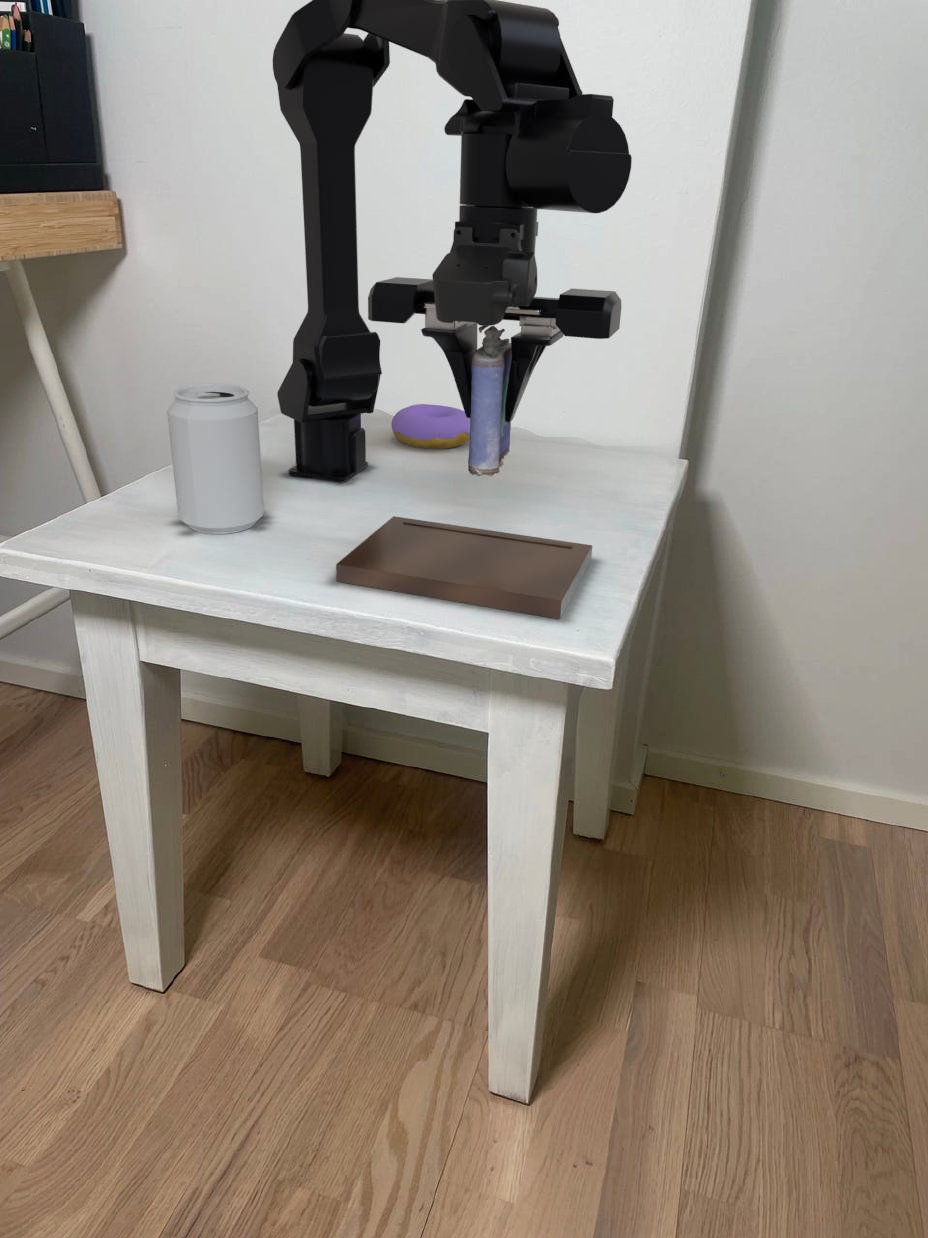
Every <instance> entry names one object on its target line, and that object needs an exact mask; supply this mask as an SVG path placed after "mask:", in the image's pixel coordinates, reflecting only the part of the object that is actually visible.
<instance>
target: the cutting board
mask: <svg viewBox="0 0 928 1238" xmlns="http://www.w3.org/2000/svg"><path fill="white" fill-rule="evenodd" d="M592 554H593V545H592V544H587V543H579V542H573V541H567V540H566V541H565V540H559V539H551V538H545V537H539V536H531V535H526V534H517V533H511V532H503V531H499V530H498V531H497V530H490V529H485V528H484V529H483V528H477V527H470V526H463V525H458V524H457V525H456V524H450V523H442V522H437V521H436V522H435V521H428V520H423V519H422V520H421V519H415V518H409V517H401V516H395V515H394V516H392V517H391V518H390V519H389V520H387V521H386V522H384V523H383V524H382V525H381V526H380V527H379V528H378V529H377V530H375V531H374V532H373V533H371V534H370V535H369V536H368V537H367V538H366V539H365V540H363V541H362V542H360V544H359V545H357V546H356V547H355V548H353V550H351V551H350V552H349V553H348V554H347V555H345V556H344V557H342V559H341V560H339V561H338V562H337V563H336V564H335V573H336V575H335V576H336V582H338V583H343V584H349V585H350V584H352V585H356V586H361V587H367V588H368V587H369V588H374V589H379V590H385V591H390V592H391V591H392V592H398V593H402V594H410V595H415V596H421V597H426V598H433V599H439V600H445V601H451V602H456V603H457V602H458V603H461V604H462V603H463V604H469V605H474V606H480V607H487V608H491V609H498V610H503V611H509V612H514V613H515V612H516V613H522V614H526V615H534V616H538V617H544V618H550V619H556V620H560V619H561V618H562V616H563V614H564V612H565V610H566V608H567V607H568V605H569V603H570V601H571V599H572V597H573V595H574V593H575V592H576V590H577V588H578V586H579V584H580V582H581V580H582V578H583V577H584V575H585V573H586V571H587V569H588V567H589V565H590V563H591V562H592Z"/></svg>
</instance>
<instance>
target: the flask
mask: <svg viewBox="0 0 928 1238" xmlns="http://www.w3.org/2000/svg"><path fill="white" fill-rule="evenodd" d="M486 328H487V329H486ZM478 332H479V334H481V333H482V332H483V334H484V337H483V339H482V342H481V344H482V346H481V347H478V348H477V350H476V351H475V353H474V355H473V359H472V382H471V385H472V390H471V418H470V440H469V441H468V442H469V443H468V458H467V459H468V460H467V466H468V469H467V470H468V472H469V474H470V475H472V476H475V477H482V476H487V477H489V478H491V477H493V476H494V475H495V474H496V475H497V474H499V473H500V472H501V470H500V468H501V467H503V465H504V461H503V460H506V458H505V457H506V456H508V454H509V453H510V452H511V451H510V445H511V430H512V429H511V428H512V421H511V422H506V421H505V402H506V395H507V388H508V381H509V373H510V366H511V359H512V349H511V342H510V338H504V339H503V338H502V339H501V337H502V335H503V333H504V332H506V329H505V328H501V329H498V328H497V327H496V326H495V325H492V326H481V325H480V326H479V327H478Z"/></svg>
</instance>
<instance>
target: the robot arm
mask: <svg viewBox="0 0 928 1238" xmlns="http://www.w3.org/2000/svg"><path fill="white" fill-rule="evenodd" d="M559 26H560V21H559V18H558V17H557V15H556V14H555V13H554V12H553V11H551V10H550V9H549V8H545V7H541V6H533V5H528V4H522V3H517V2H516V3H515V2H510V1H504V0H310V1H309V2H308V3H306V4H305V5H303V6H301V7H300V8H299V9H298V10H296V11H294V12H293V13H292V15H291V16H290V18H289V19H288V21H287V23H286V25H285V27H284V29H283V31H282V33H281V34H280V37H279V38H278V40H277V42H276V43H275V46H274V48H273V53H272V72H273V77H274V80H275V82H276V86H277V87H276V88H277V94H278V102H279V109H280V112H281V114H282V115H283V117H284V119H285V121H286V123H287V124H288V126H289V128H290V129H291V131H292V133H293V135H294V137H295V138H296V140H297V142H298V144H299V149H300V150H299V151H300V168H301V189H302V191H301V193H302V211H303V212H302V213H303V232H304V251H305V271H306V273H305V274H306V275H305V276H306V293H307V294H306V295H307V312H306V314H305V316H304V318H303V320H302V322H301V324H300V326H299V328H298V330H297V332H296V333H295V335H294V338H293V341H292V363H291V364H290V366H289V368H288V370H287V372H286V374H285V377H284V378H283V380H282V383H281V385H280V386H279V388H278V390H277V394H276V396H277V401H278V405H279V410H280V413H281V414H282V415H283V416H286V417H287V418H290V419H293V429H294V430H293V431H294V433H293V434H294V449H295V465H294V466H292V467H290V468H289V469H288V475H290V476H297V477H303V478H312V479H319V480H324V481H325V480H326V481H334V482H341V483H343V482H347V481H348V480H349V479H351V478H353V477H355V476H356V475H357V474H360V472H362V471H363V470H365V469H366V468H367V467H369V462H368V461H367V458H366V457H367V455H366V453H367V452H366V451H367V448H366V445H367V444H366V429H365V428H364V427H362V415H363V414H373V413H374V412H375V411H374V410H375V405H376V401H377V395H378V391H379V387H380V382H381V381H380V380H381V375H382V374H383V372H382V367H381V359H380V356H381V354H380V353H381V339H380V337H379V334H378V333H377V331H371V330H370V328H369V326H368V325H367V324H366V322H365V320H364V319H363V317H362V315H361V314H360V313H361V312H360V304H359V303H360V302H359V301H360V299H359V297H360V296H359V262H358V260H359V259H358V221H357V186H356V185H357V183H356V182H357V181H356V144H357V142H358V141H359V138H360V137H361V135H362V132H363V131H364V129H365V127H366V124H367V123H368V121H369V119H370V117H371V115H372V111H373V95H374V87H375V86H376V84H377V83H378V82H379V80H380V79H381V78H382V77H383V75H384V73H385V72H386V71H387V70H388V69H389V67H390V63H391V57H390V56H391V55H390V53H391V52H390V43H391V44H394V45H396V46H399V47H401V48H403V49H406V50H409V51H411V52H413V53H416V54H417V55H420V56H423V57H426V58H428V59H429V60H431V61H432V62H433V63H434V64H435V71H436V73H437V75H438V76H439V77H440V78H441V79H442V80H444V82H446V83H447V84H448V85H450V87H452V88H453V89H454V90H455V91H456V92H458V93H459V94H460V95H462V96H464V97H470V98H471V99H470V98H464V99H463V102H462V104H461V105H460V108H459V109H458V110H457V111H456V113H454V114H453V115H451V117H449V119H448V120H447V122H446V124H445V125H444V129H443V130H444V134H445V135H447V136H451V137H460V169H459V170H460V172H459V173H460V175H459V211H458V212H459V213H458V214H459V216H458V221H455V222H454V230H453V237H452V238H453V241H452V245H451V248H450V251H449V252H448V253H447V254H445V256H444V257H443V259H442V260H441V261H440V263H439V264H438V266H437V267H436V268H435V270H434V271H433V273H432V275H431V277H432V278H431V279H430V278H429V279H428V278H418V277H417V278H416V277H401V276H396V277H391V278H387V279H383V280H379V281H376V282H375V283H374V285H372V287H371V288H370V290H369V293H368V295H367V320H369V321H371V322H378V323H379V322H380V323H393V324H406V323H407V322H408V321H409V320H410V319H411V318H412V317H413V316H414V315H416V314H417V315H424V327H423V328H421V329H420V331H421V334H422V336H423V337H425V338H432V339H433V340H434V341H435V342H436V344H437V345H438V346H439V347H440V349H441V350H442V352H443V354H444V356H445V358H446V360H447V362H448V365H449V367H450V371H451V373H452V376H453V380H454V382H455V387H456V389H457V392H458V395H459V398H460V401H461V405H462V408H463V411H464V412H465V415H466V417H467V418H471V390H472V385H471V382H472V359H473V355H474V353H475V351H476V350H478V326H480V327H481V326H488V327H491V326H495V325H498V324H500V323H501V322H502V321H514V322H515V321H517V322H519V327H520V331H519V332H518V333H516V334H514V335H512V336H511V337H510V343H511V349H512V359H511V366H510V373H509V381H508V388H507V395H506V402H505V421H506V422H511V423H512V421H513V419H514V418H515V415H516V413H517V410H518V408H519V405H520V404H521V401H522V398H523V396H524V393H525V391H526V389H527V387H528V384H529V381H530V378H531V376H532V374H533V372H534V369H535V368H536V365H537V364H538V362H539V360H540V359H541V356H542V355H543V353H544V351H545V349H546V348H547V347H550V346H552V345H554V344H555V343H556V342H558V341H560V340H561V339H562V338H563V337H570V338H571V337H572V338H584V339H597V340H605V339H610V338H611V337H612V336H613V335H614V334H616V333H617V332H618V331H619V330H620V325H621V315H622V299H621V297H620V296H619V295H618V293H617V292H616V291H614V290H601V289H586V288H569V289H568V290H565V291H563V292H562V293H560V294H559V297H544V296H536V293H537V289H538V267H537V261H536V240H537V237H538V236H539V221H538V210H545V211H558V212H570V213H571V212H573V213H587V214H601V213H604V212H607V211H608V210H610V209H611V208H613V207H614V206H615V205H616V204H617V203H618V201H619V200H620V199H621V198H622V196H623V194H624V192H625V190H626V188H627V185H628V183H629V181H630V176H631V175H630V174H631V170H632V161H633V157H632V155H631V153H630V150H629V143H628V139H627V136H626V133H625V132H624V130H623V127H622V125H620V123H618V121H617V120H616V119H615V118H614V117H613V114H614V113H613V112H614V103H615V102H614V101H615V100H614V97H613V96H612V95H605V94H595V93H584V92H583V91H582V89H581V86H580V84H579V81H578V79H577V76H576V73H575V71H574V69H573V66H572V63H571V61H570V58H569V55H568V53H567V50H566V48H565V45H564V42H563V40H562V38H561V33H560V29H559ZM347 29H351V30H352V29H354V30H359V31H363V32H365V33H367V34H366V36H365V37H364V39H362V37H360V36H359V35H358V34H354V33H345V32H346V30H347Z"/></svg>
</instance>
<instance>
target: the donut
mask: <svg viewBox="0 0 928 1238" xmlns="http://www.w3.org/2000/svg"><path fill="white" fill-rule="evenodd" d="M391 429H392V433H393V435H394V437H396V439H397V440H398V441H400V442H401V443H403V444H406V445H409V446H411V447H414V448H415V447H416V448H421V449H432V450H436V449H437V450H439V449H450V448H451V449H452V448H456V447H459V446H462V445H464V444H466V443H467V442H470V418H467V417H466V415H465V411H464V410H462V409H460V408H458V407H452V406H447V405H441V404H427V403H426V404H425V403H418V404H412V405H409V406H406V407H403V408H402V409H400V410H399V411H397V412H396V413H395V414H394V416H393V417H392V419H391Z"/></svg>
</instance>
